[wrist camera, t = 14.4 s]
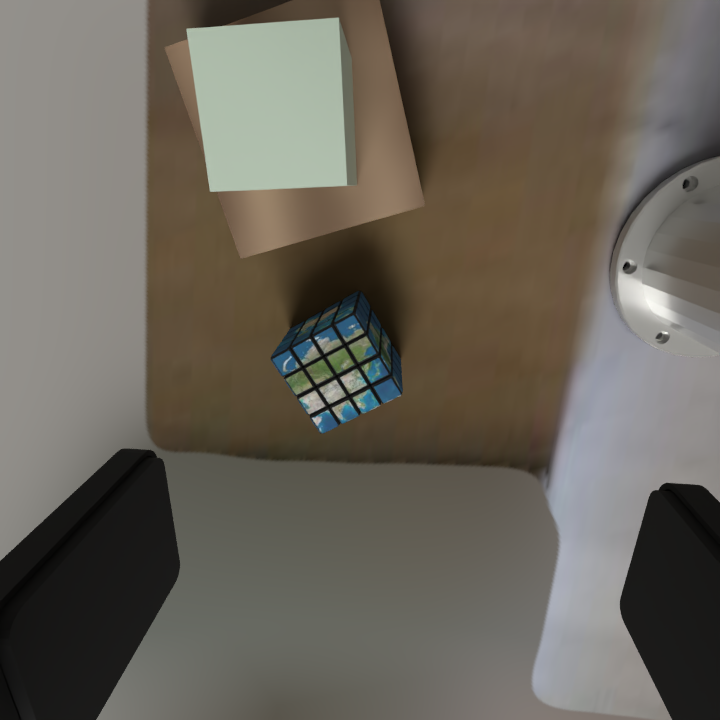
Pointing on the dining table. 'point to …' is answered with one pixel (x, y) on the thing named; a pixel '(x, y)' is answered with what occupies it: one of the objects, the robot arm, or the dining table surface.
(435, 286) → the dining table surface
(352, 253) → the dining table surface
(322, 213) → the brown wooden flat block
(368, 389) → the puzzle
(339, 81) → the sage block
